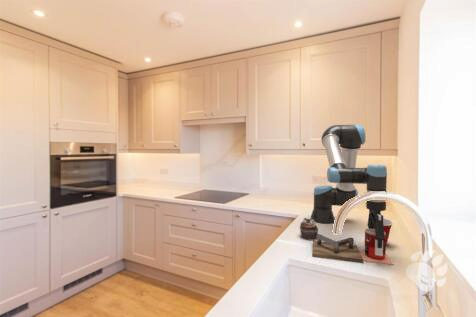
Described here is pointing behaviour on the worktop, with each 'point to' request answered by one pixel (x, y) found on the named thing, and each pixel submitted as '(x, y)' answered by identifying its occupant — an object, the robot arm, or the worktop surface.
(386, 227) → the plastic cup
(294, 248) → the worktop surface
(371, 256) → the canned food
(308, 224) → the cupcake
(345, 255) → the wire board
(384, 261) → the mat
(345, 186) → the robot arm
